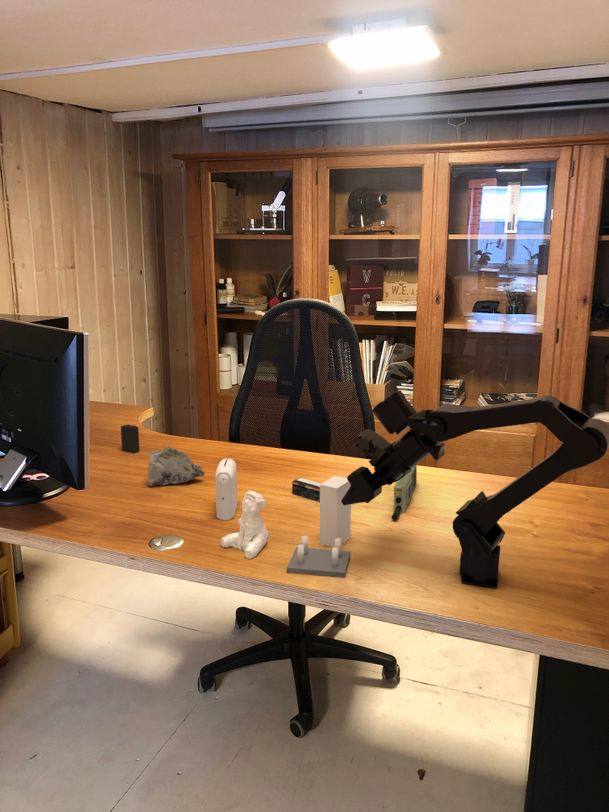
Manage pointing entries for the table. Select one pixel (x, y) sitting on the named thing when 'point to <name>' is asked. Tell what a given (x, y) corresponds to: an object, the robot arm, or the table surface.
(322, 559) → the grey peg board
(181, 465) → the mineral rock
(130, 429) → the ink cartridge
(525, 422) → the robot arm
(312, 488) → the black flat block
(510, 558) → the table surface
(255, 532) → the white creature statuette
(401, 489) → the handheld radio
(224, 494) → the photo printer
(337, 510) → the block
